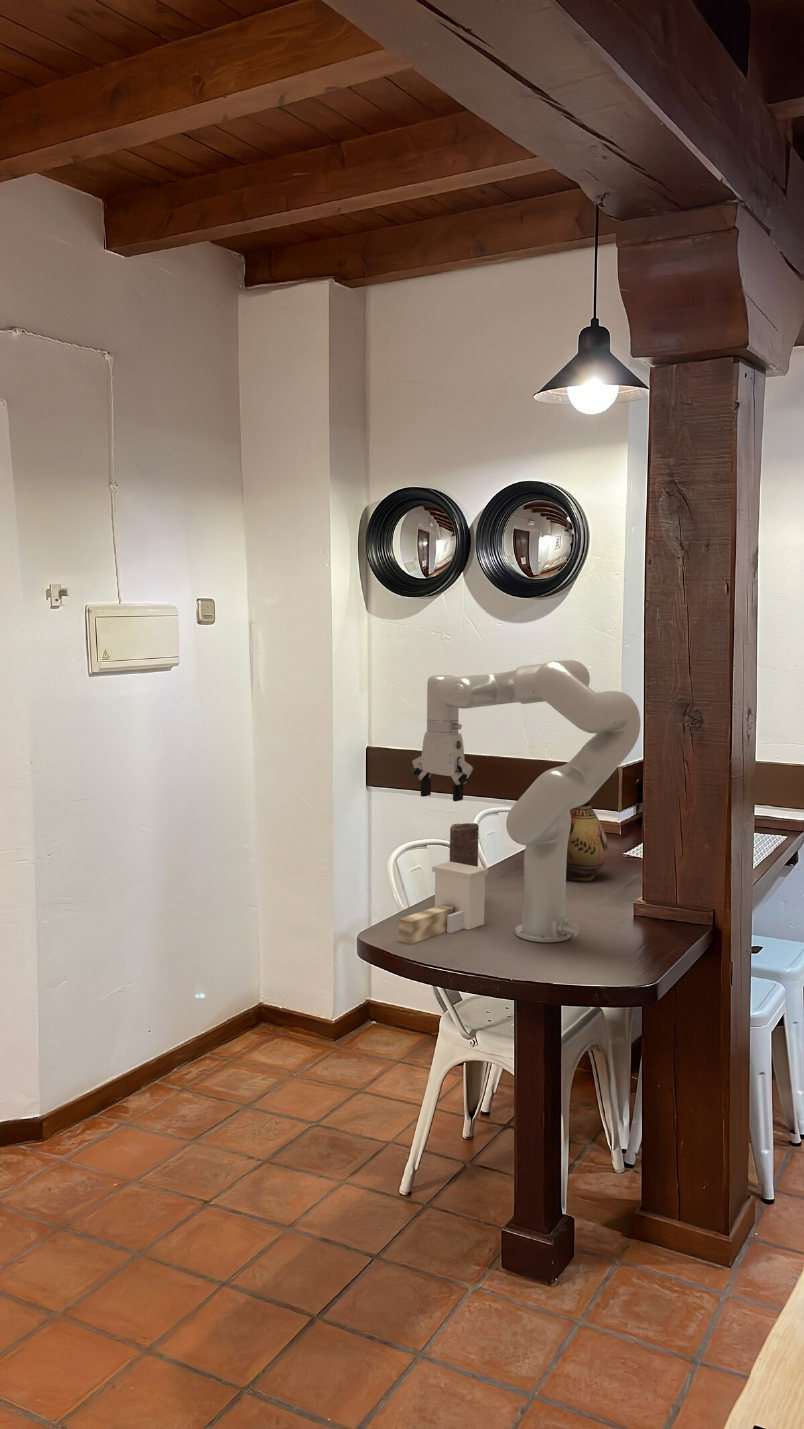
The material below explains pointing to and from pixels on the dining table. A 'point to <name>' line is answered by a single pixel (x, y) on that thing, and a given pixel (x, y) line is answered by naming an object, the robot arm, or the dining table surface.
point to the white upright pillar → (461, 894)
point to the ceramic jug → (585, 844)
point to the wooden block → (424, 924)
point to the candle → (464, 843)
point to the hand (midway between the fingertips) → (441, 798)
